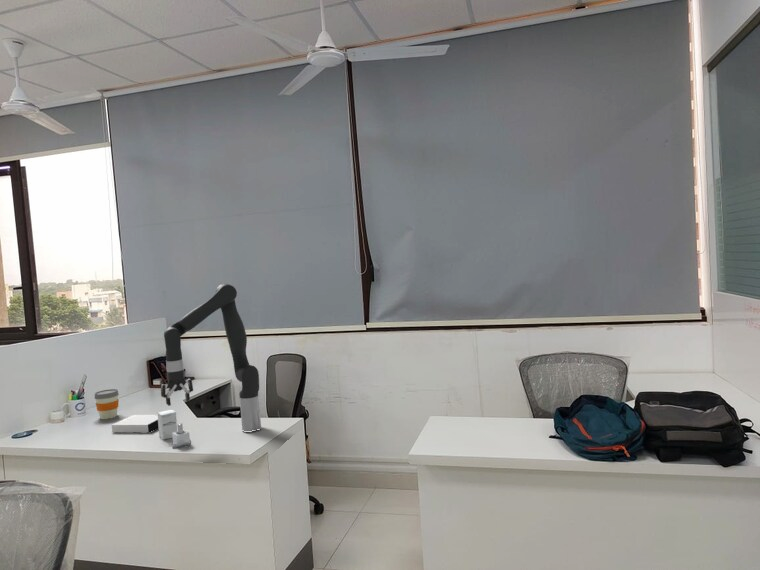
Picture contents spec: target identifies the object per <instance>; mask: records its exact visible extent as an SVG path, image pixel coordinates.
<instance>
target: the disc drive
mask: <svg viewBox="0 0 760 570" xmlns="http://www.w3.org/2000/svg"><path fill="white" fill-rule="evenodd" d="M157 428H158V429H159V426H158V414H131V415H130V416H128V417H125V418H124V419H121V420H119V421H117V422H114V423H113V424H111V431H112V432H151V431H153V430H154V431H156V430H158V429H157ZM155 429H156V430H155ZM154 431H153V432H154ZM112 432H111V433H112ZM151 433H152V432H151Z"/></svg>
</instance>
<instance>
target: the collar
mask: <svg viewBox="0 0 760 570" xmlns="http://www.w3.org/2000/svg"><path fill="white" fill-rule="evenodd" d="M190 435H191V434H190V432H189V431H188V430H187V429H183V433H182V434H178V430H177V432H174V433H172V438H171V439H172V444H175V445H177V446H180V445H183V444H187V443H190V444H191V442H190V440H191V436H190Z"/></svg>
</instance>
